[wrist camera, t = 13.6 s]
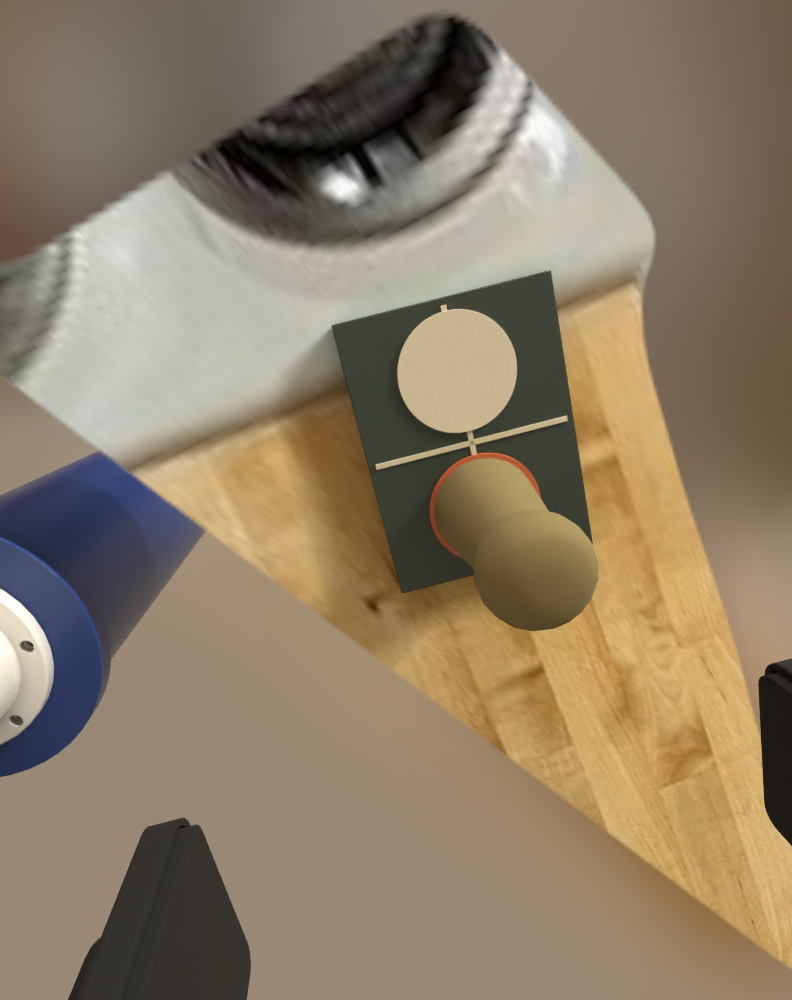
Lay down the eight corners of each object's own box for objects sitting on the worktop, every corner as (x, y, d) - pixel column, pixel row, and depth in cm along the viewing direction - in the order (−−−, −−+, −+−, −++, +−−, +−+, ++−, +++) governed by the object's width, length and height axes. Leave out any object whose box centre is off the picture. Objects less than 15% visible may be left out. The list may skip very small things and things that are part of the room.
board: (400, 585, 36) (402, 595, 35) (331, 325, 31) (331, 325, 30) (585, 537, 36) (594, 545, 35) (543, 272, 32) (552, 269, 30)
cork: (428, 554, 34) (465, 652, 23) (439, 454, 32) (483, 510, 22) (528, 559, 35) (607, 656, 24) (542, 461, 33) (634, 518, 22)
